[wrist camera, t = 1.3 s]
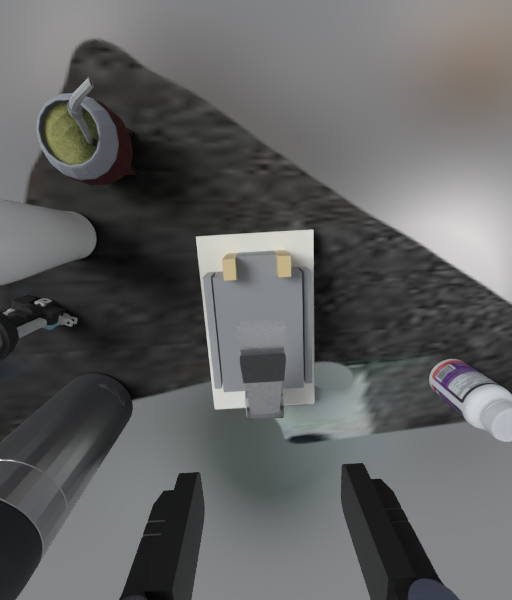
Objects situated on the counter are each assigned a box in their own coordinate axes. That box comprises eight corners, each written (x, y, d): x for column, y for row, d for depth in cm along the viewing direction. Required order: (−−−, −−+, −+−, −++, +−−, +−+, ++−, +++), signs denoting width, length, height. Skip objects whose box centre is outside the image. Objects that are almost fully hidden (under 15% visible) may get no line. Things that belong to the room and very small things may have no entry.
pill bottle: (467, 391, 39) (535, 444, 29) (427, 396, 39) (482, 450, 30) (469, 354, 37) (542, 399, 28) (428, 360, 38) (486, 405, 28)
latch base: (312, 396, 39) (325, 434, 32) (216, 402, 39) (208, 441, 32) (310, 229, 33) (326, 231, 26) (198, 236, 33) (183, 239, 26)
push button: (84, 301, 35) (19, 330, 25) (75, 339, 36) (11, 381, 27) (28, 282, 34) (-60, 305, 25) (21, 322, 36) (-65, 359, 26)
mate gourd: (68, 159, 31) (-94, 102, 16) (109, 96, 29) (-29, -29, 15) (126, 206, 32) (24, 193, 18) (168, 148, 31) (94, 81, 16)
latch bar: (282, 406, 33) (283, 422, 32) (247, 408, 33) (247, 424, 32) (289, 315, 20) (292, 336, 19) (231, 318, 20) (231, 339, 19)
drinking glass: (113, 258, 34) (8, 285, 19) (58, 270, 34) (-86, 305, 19) (93, 198, 32) (-39, 178, 17) (35, 211, 32) (-142, 202, 18)
